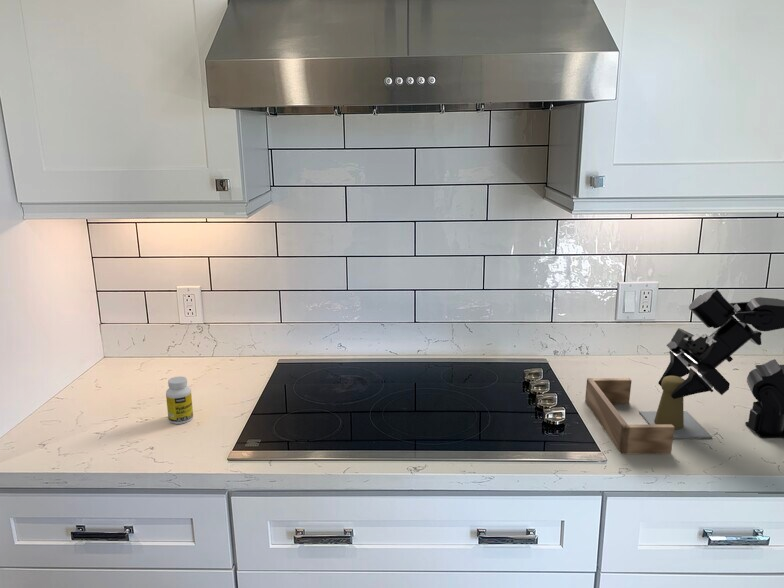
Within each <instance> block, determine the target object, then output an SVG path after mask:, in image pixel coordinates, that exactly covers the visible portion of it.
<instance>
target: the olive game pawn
mask: <svg viewBox="0 0 784 588" xmlns="http://www.w3.org/2000/svg"><path fill="white" fill-rule="evenodd" d="M685 380H686V379H685V378H682V377H678V376H666V377H664V378H663V380H662V382H661V386H660V387H661V390H662V392H661V393H662V394H661V396H660V400H659V404H658V408H657V409H656V411H657V413H656V416H655V420H654V422H655V424H672V425H673V426H674V427H675V428H674V430H680V429H682V428H683V426H684V413H683V411H684V397H680V398H677V399H673V398H672V397H671V394H672V393H673V392H674V391H675V390H676V389H677V388H678V387H679V386H680V385H681V384H682V383H683V382H684V381H685Z"/></svg>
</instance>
